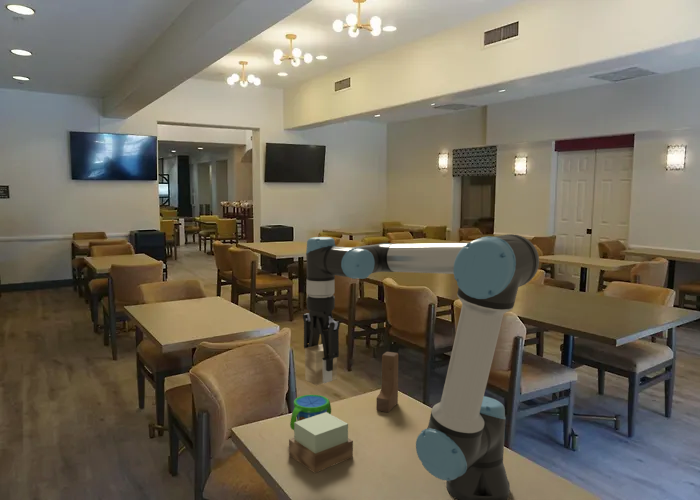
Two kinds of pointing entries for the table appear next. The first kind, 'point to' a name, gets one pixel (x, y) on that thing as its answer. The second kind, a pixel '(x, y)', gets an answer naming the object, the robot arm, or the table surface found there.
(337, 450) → the walnut slab
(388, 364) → the wooden block
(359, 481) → the table surface
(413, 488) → the table surface
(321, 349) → the oak block
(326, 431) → the sage slab
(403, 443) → the table surface
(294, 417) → the snack cup
